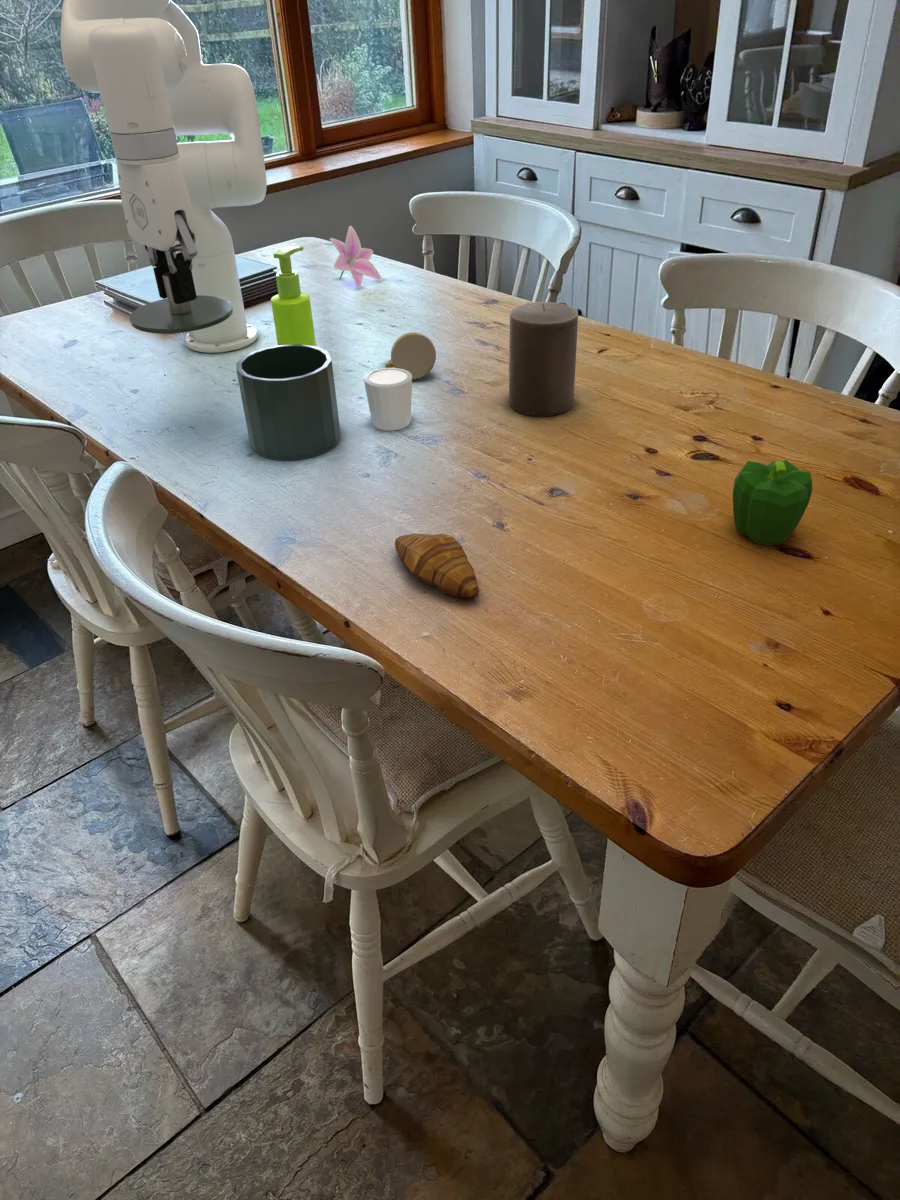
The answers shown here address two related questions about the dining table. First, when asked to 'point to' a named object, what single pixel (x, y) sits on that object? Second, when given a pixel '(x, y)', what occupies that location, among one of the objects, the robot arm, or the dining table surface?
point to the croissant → (439, 563)
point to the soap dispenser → (291, 304)
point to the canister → (289, 401)
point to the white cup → (389, 397)
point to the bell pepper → (770, 500)
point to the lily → (354, 258)
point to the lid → (180, 313)
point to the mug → (413, 354)
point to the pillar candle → (542, 358)
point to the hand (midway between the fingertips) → (178, 297)
